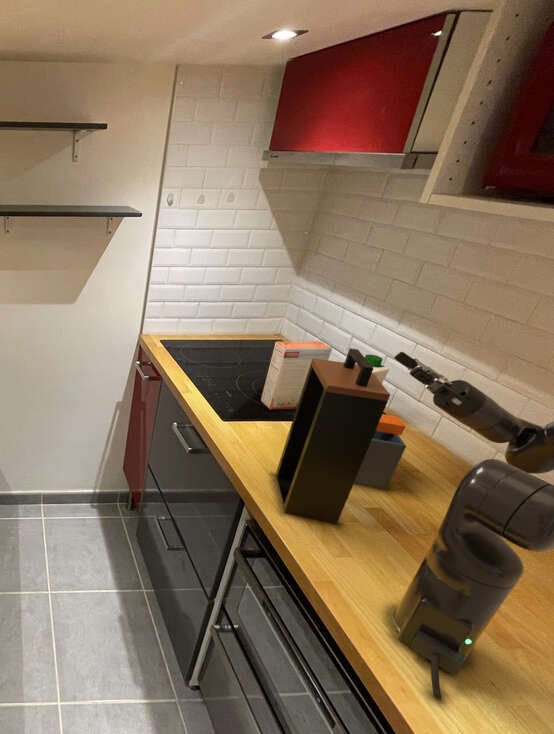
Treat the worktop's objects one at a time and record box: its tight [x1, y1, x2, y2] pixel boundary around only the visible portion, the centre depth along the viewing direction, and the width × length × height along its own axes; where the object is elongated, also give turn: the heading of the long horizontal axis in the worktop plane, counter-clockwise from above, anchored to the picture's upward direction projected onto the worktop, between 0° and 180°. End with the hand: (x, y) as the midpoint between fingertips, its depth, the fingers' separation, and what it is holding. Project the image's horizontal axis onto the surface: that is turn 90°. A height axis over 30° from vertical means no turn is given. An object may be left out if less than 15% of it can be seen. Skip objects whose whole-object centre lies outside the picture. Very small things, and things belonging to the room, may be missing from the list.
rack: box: [274, 348, 391, 525], centre depth 95 cm, size 10×13×36 cm
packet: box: [376, 413, 406, 436], centre depth 107 cm, size 14×4×3 cm, turn 71°
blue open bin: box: [354, 431, 407, 490], centre depth 110 cm, size 13×13×13 cm
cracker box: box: [260, 340, 333, 410], centre depth 136 cm, size 14×6×21 cm, turn 92°
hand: (405, 362), depth 100 cm, fingers open, 8 cm apart
